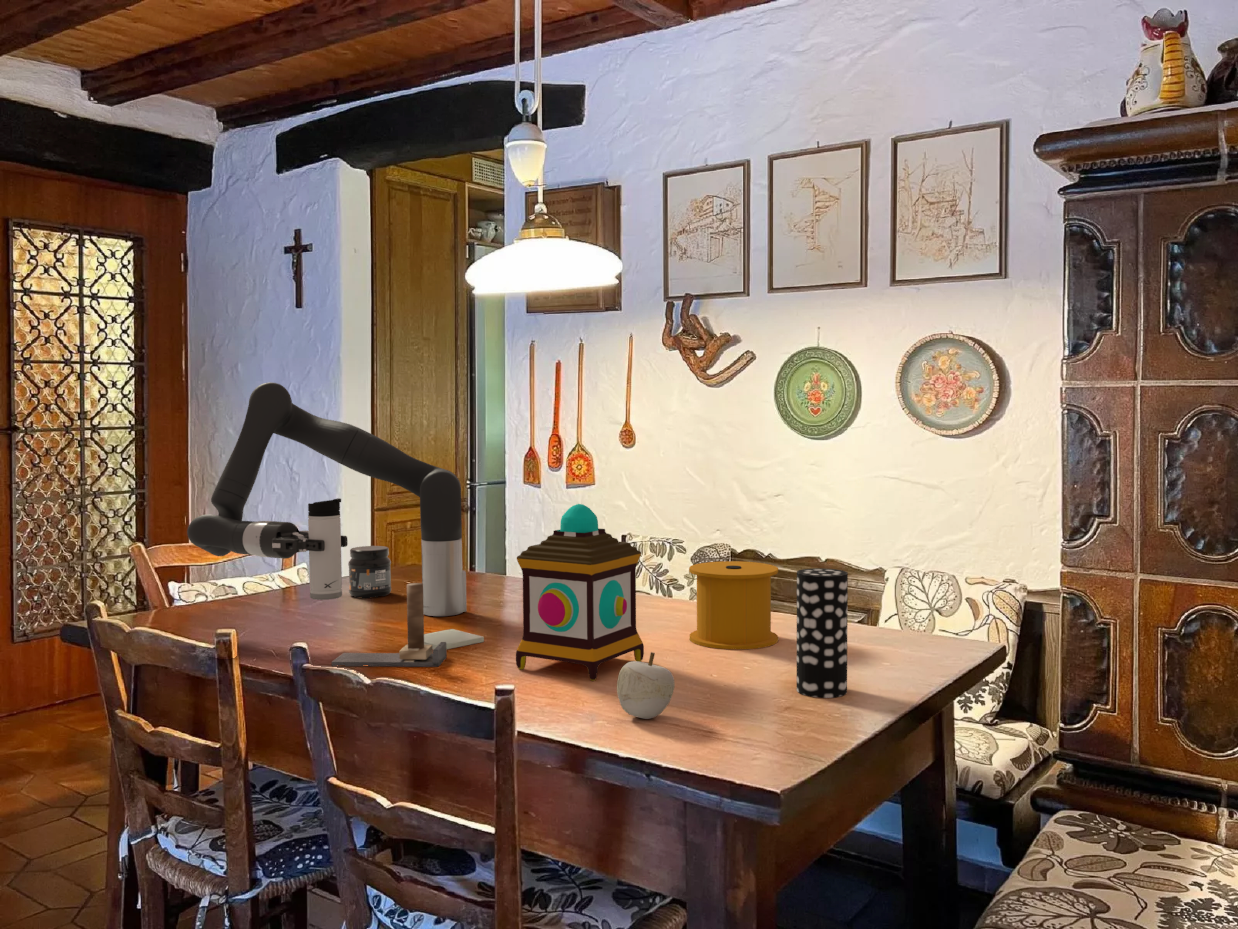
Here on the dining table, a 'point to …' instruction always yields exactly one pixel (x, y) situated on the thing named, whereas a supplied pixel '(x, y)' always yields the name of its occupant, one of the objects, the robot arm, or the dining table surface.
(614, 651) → the decorative lantern
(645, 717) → the decorative object
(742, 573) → the spool
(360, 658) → the rail
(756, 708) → the dining table surface
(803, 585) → the spotted tube
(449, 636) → the pad
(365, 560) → the supplement container
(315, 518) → the travel mug
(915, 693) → the dining table surface
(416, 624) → the post
